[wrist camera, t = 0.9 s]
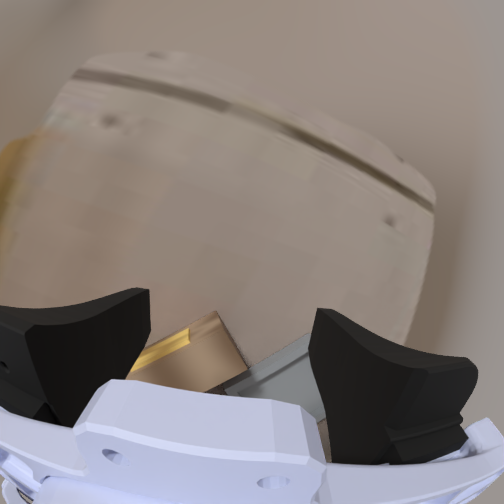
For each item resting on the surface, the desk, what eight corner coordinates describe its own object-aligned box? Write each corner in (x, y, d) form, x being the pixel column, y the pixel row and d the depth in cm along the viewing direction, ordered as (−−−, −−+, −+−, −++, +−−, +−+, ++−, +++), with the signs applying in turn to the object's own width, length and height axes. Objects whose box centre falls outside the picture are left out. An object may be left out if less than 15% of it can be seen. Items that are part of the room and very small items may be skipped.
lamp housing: (143, 393, 26) (133, 429, 19) (118, 358, 25) (100, 387, 18) (237, 347, 28) (251, 374, 21) (214, 307, 27) (221, 326, 20)
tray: (266, 441, 29) (269, 449, 27) (222, 382, 27) (224, 390, 26) (339, 397, 31) (346, 403, 29) (308, 332, 30) (315, 337, 28)
